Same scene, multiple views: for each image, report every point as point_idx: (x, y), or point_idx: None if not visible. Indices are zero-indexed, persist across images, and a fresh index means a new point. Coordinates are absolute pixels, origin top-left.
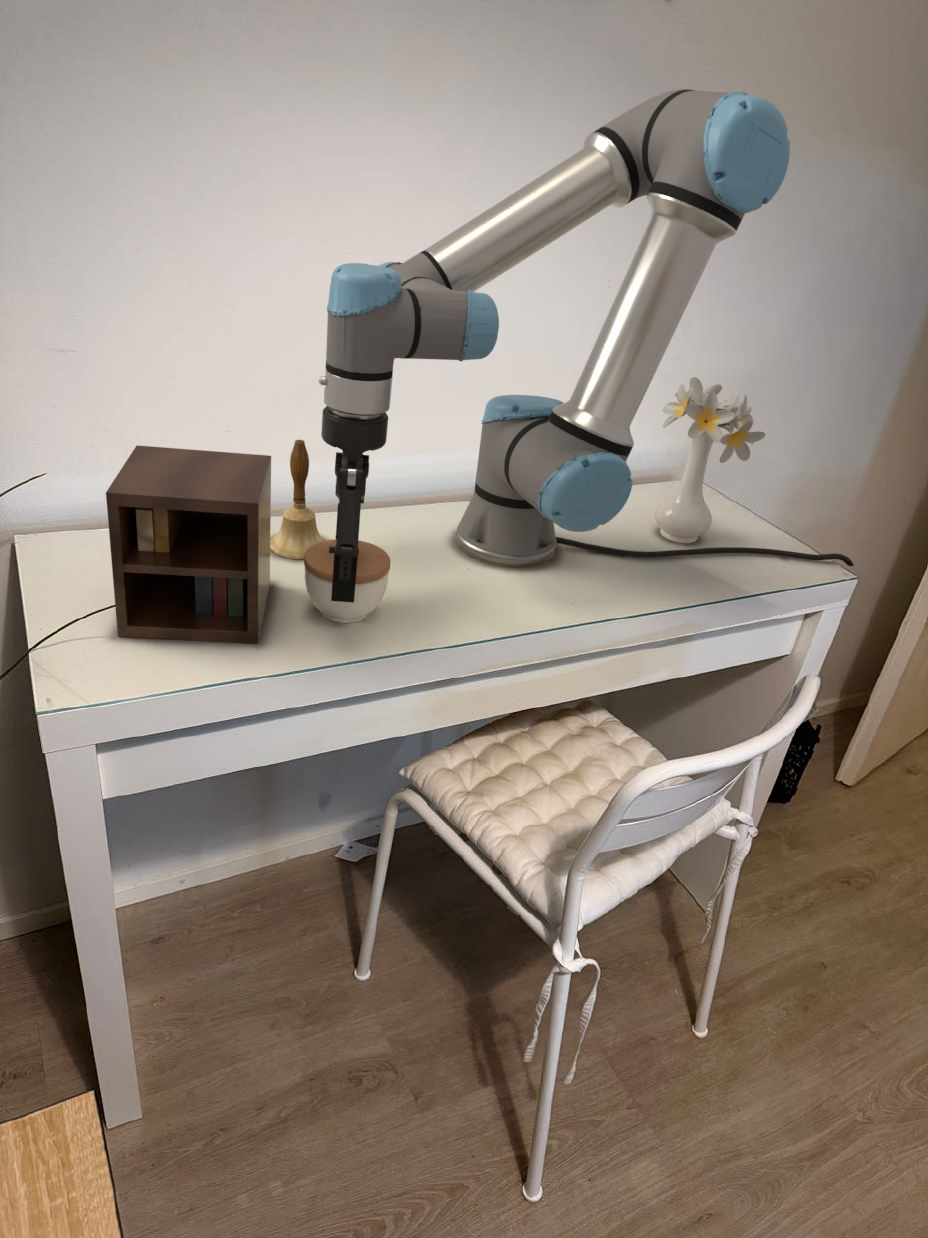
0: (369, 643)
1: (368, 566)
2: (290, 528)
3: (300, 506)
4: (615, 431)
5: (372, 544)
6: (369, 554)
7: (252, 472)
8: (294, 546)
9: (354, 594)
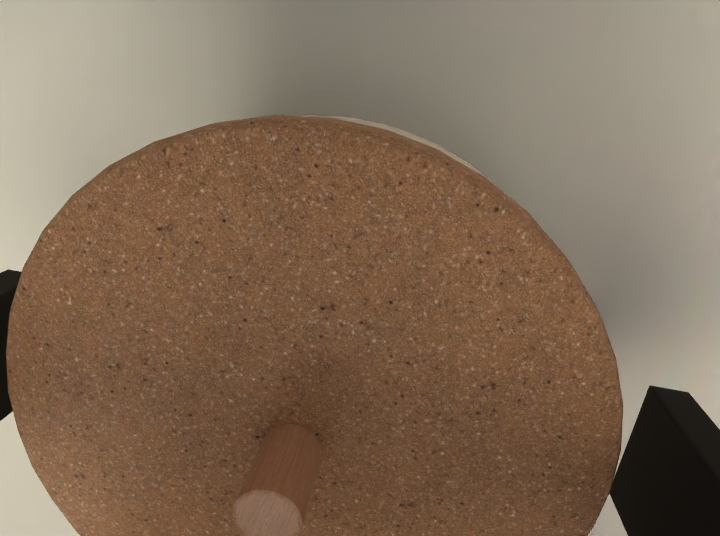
0: (636, 218)
1: (474, 341)
2: None
3: None
4: None
5: (60, 235)
6: (260, 297)
7: None
8: None
9: (715, 427)
